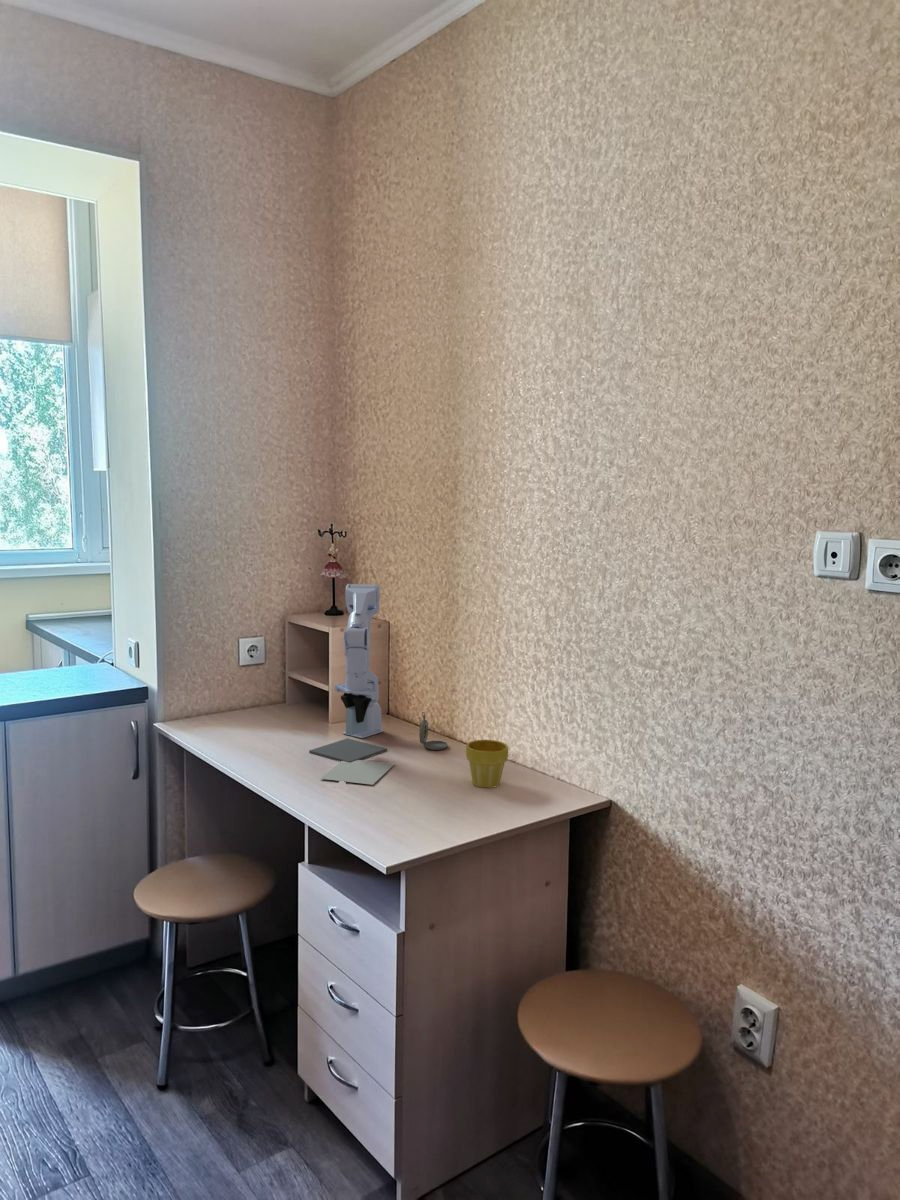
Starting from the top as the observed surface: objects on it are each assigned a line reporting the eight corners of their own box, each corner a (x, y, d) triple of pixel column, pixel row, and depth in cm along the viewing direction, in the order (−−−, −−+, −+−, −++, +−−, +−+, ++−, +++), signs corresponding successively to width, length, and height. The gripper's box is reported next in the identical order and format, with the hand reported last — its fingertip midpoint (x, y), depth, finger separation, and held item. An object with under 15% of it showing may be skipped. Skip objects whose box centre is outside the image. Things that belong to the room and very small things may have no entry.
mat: (347, 740, 248) (347, 738, 248) (387, 750, 239) (387, 748, 239) (309, 752, 236) (309, 750, 236) (349, 763, 227) (349, 761, 227)
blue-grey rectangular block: (361, 729, 238) (361, 704, 237) (367, 730, 236) (367, 705, 236) (345, 733, 233) (346, 708, 232) (351, 735, 232) (352, 709, 231)
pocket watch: (451, 749, 240) (451, 714, 239) (422, 752, 237) (423, 717, 236) (440, 741, 248) (441, 707, 247) (412, 744, 245) (413, 709, 243)
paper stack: (429, 770, 224) (429, 767, 224) (398, 803, 200) (398, 800, 200) (345, 761, 230) (345, 758, 230) (305, 792, 206) (305, 789, 206)
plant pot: (514, 781, 215) (515, 743, 214) (495, 793, 206) (496, 754, 205) (478, 774, 220) (478, 736, 219) (457, 785, 212) (458, 747, 210)
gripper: (326, 670, 234) (326, 719, 235) (366, 678, 225) (366, 729, 227) (344, 666, 239) (344, 714, 241) (384, 673, 231) (383, 723, 232)
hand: (356, 721), depth 234 cm, fingers closed on blue-grey rectangular block, 2 cm apart
